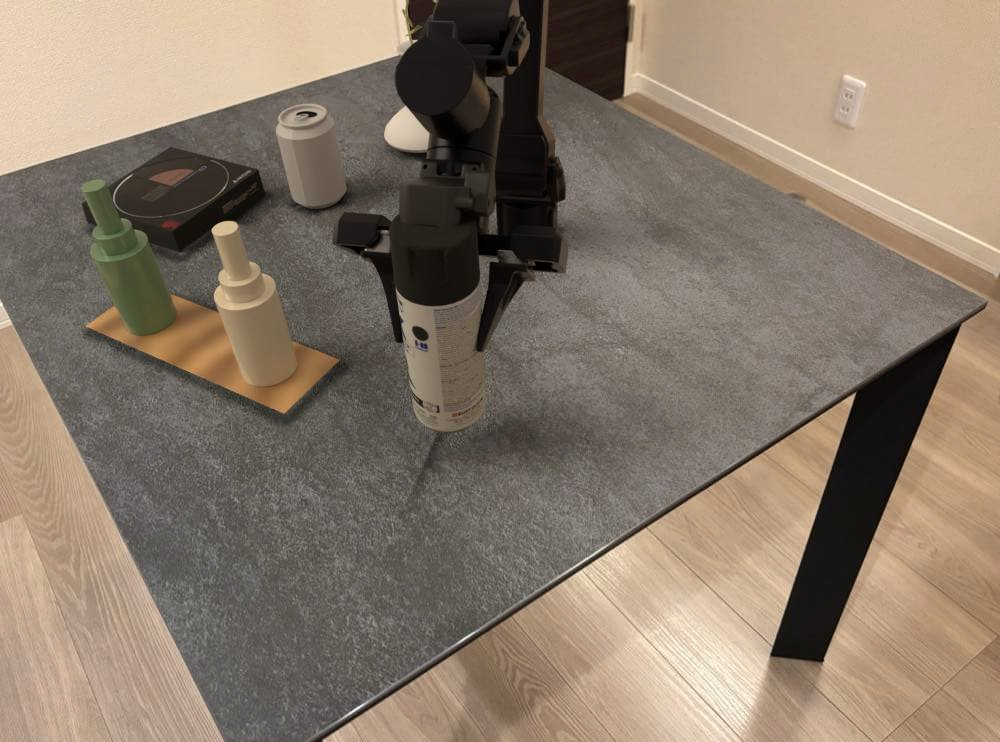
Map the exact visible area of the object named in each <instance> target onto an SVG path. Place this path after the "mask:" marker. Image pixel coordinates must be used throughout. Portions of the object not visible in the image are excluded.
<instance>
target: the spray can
mask: <svg viewBox="0 0 1000 742" xmlns="http://www.w3.org/2000/svg"><path fill="white" fill-rule="evenodd" d="M391 221H392V222H391V224H390V228H389V238H390V246H391V255H392V263H393V272H394V283H395V287H396V294H397V301H398V307H399V315H400V321H401V328H402V334H403V347H404V354H405V361H406V362H405V363H406V367H407V374H408V381H409V386H410V396H411V401H412V407H413V411H414V414H415V416H416V418H417V420H418V422H420V424H422V425H423V427H425V428H426V429H427V430H429V431H433V432H436V433H441V434H453V433H459V432H460V433H461V432H463V431H466V430H467V429H469V428H471V427H472V426H474V425H475V424H476V423H477V422H478V421H480V419H481V418H482V416H483V414H484V411H485V408H486V405H487V404H486V403H487V402H486V401H487V400H486V399H487V398H486V397H487V395H486V375H485V374H486V373H485V357H484V356H485V355H484V352H485V351H484V352H477V340H478V331H479V326H480V321H481V317H482V312H483V309H482V291H481V290H482V289H481V268H480V256H479V253H478V239H477V226H476V220H475V218H474V217H473V216H465V215H464V217H463V219H462V222H461V223H460V224H459V225H458V226H456V227H453V228H438V227H436V226H424V225H412V224H406V223H402V222H401V221H400V219H399V213H398V214H396V215H395V216H394V217H393V218H392V219H391Z"/></svg>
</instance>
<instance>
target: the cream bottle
mask: <svg viewBox="0 0 1000 742" xmlns="http://www.w3.org/2000/svg"><path fill="white" fill-rule="evenodd" d="M211 234H212V237H213V240H214V243H215V246H216V248H217V251H218V255H219V258H220V260H221V263H222V266H223V268H222V269H221V271H220V272H218V273H219V274H218V276H217V277H218V282H219V285H218V286H217V287H216V289H215V291H214V293H213V301H214V303H215V307H216V309H217V312H219V315H220V318H221V320H222V323H223V326H224V329H225V332H226V335H227V337H228V340H229V343H230V346H231V349H232V351H233V354H234V357H235V360H236V363H237V366H238V368H239V371H240V374H241V377H242V378H243V380H244V381H245V382H247V383H248V384H250V385H253V386H259V387H266V386H272V385H276V384H279V383H281V382H283V381H285V380H286V379H288V378H289V377H290V376H291V375H292V374H293V373H294V372H295V370H296V368H297V364H298V361H297V357H296V354H295V350H294V347H293V343H292V341H293V340H292V337H291V336H292V335H291V334H290V328H289V326H288V322H287V319H286V315H285V312H284V308H283V304H282V301H281V298H280V294H279V290H278V287H277V283H276V281H275V280H274V278H273V277H271V276H270V275H268V274H266V273H262V269H261V267H260V266H259V264H257V263H256V262H253V261H250V260H249V257H248V253H247V250H246V246H245V243H244V240H243V237H242V233H241V230H240V226H239V224H238V223H237V222H236V221H234V220H233V221H225V222H221V223H218V224H217V225H215V226H214V227H213V228H212V229H211Z"/></svg>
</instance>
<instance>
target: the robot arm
mask: <svg viewBox="0 0 1000 742" xmlns="http://www.w3.org/2000/svg"><path fill="white" fill-rule="evenodd" d="M549 3H550V0H438V1H437V3H435V6H434V8H433V12H432V14H429V16H428V17H427V20H426V21H425V24H424V26H423V27H422V30H421V32H420V34H419V36H418V38H417V39H416V40H417V41H416V42H415V43H413V44H412V45H411V46H410V47H409V48H408V49H407V50H406V51H405V53H404V54H403V55H402V57H401V56H400V59H399V62H398V63H397V64H396V66H395V70H394V85H395V90H396V94H397V95H398V97H399V99H400V100H401V102H402V103H403V104H404V106H405V105H406V107H407V108H408V109H409V110H410V111H411V113H412V114H413V115H414V116H415V117H416V119H417V120H418V121H419V122H420V123H421V125H422V126H423V127H424V128H425V129H426V130H427V131H428V132H429V141H428V150H427V152H426V158H422V160H421V164H420V168H419V174H418V176H417V177H412V178H409V179H406V180H402V181H399V187H398V188H399V189H398V191H399V194H398V195H399V196H398V197H399V199H398V200H399V201H398V202H399V203H398V207H399V209H398V211H399V212H398V214H399V219H400V221H401V222H402V223H406V224H412V225H424V226H436V227H438V228H453V227H456V226H458V225H459V224H460V223H461V222H462V219H463V217H464V215H465V216H473V217H474V218H475V220H476V226H477V239H478V253H479V257H482V258H495V259H497V261H491V260H490V261H489V264H488V265H489V267H488V284H487V290H486V295H485V299H484V303H483V308H482V317H481V321H480V326H479V331H478V340H477V352H485V350H486V348H487V346H488V344H489V343H490V340H491V339H492V337H493V335H494V333H495V331H496V330H497V327H498V325H499V323H500V321H501V319H502V318H503V317H502V316H503V315H504V313H505V311H506V310H507V308H508V306H509V305H510V303H511V302H512V300H513V299H514V297H515V296H516V294H517V293H518V291H520V288H521V287H522V286H523V284H524V283H525V282H536V279H537V275H536V273H535V272H538V273H539V272H540V273H549V274H566V273H567V265H568V257H569V244H568V242H567V240H566V238H565V237H564V235H563V234H562V233H561V231H560V230H559V229H558V225H559V223H558V219H559V218H558V217H559V216H558V215H559V214H558V211H559V209H558V208H559V205H558V204H559V203H561V202H563V201H565V200H566V198H567V181H566V176H565V170H564V167H563V165H562V162H561V159H560V156H558V155H557V156H556V137H555V136H554V133H553V132H552V129H551V127H550V125H549V123H548V121H547V119H546V118H545V116H544V100H545V99H544V98H545V97H544V96H545V95H544V94H545V79H546V78H545V77H546V60H547V59H546V57H547V41H548V40H547V38H548V22H549V21H548V20H549ZM487 78H503V86H502V87H503V88H502V91H503V92H502V99H501V98H500V96H499V95H498V93H497V92H496V91H495V89H493V88H492V87H491V86H489V85H488V84H487ZM495 211H496V212H495ZM494 213H495V214H496V231H497V234H495V233H494V234H493V233H490V228H489V224H490V216H491V215H493V214H494ZM391 222H392V219H389V218H388V217H387V216H385V215H384V214H380V213H379V214H377V213H364V212H350V211H343V212H342V213H341V215H340V216H339V217H338V218H337V220H336V221H335V223H334V225H333V234H332V241H331V242H332V243H331V244H332V245H333V246H336V247H338V248H340V249H341V250H344V251H345V252H348V253H350V254H352V255H355V256H359V257H360V258H361V259H362V260H364V261H367V262H368V263H371V264H372V265H373V266H374V268H375V270H376V272H377V274H378V276H379V279H380V282H381V284H382V288H383V291H384V294H385V300H386V303H387V308H388V312H389V317H390V323H391V327H392V331H393V336H394V341H395V343H397V344H404V342H403V334H402V328H401V321H400V315H399V307H398V301H397V294H396V287H395V283H394V272H393V263H392V255H391V246H390V238H389V228H390V224H391Z"/></svg>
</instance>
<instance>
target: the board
mask: <svg viewBox="0 0 1000 742" xmlns="http://www.w3.org/2000/svg"><path fill="white" fill-rule="evenodd" d="M170 295H171V297H172V300H173V302H174V305H175V307H176V310H177V317H176V319H175V321H174V322H173V323H172V324H171V325H170V326H169V327H167V328H166V329H164V330H162V331H160V332H158V333H155V334H151V335H144V336H139V335H133V334H130V333H129V332H127V331H126V330H125V328H124V326H123V324H122V321H121V319H120V317H119V315H118V313H117V311H116V309H115V306H114V305H112V306H111V307H109V309H107V310H106V311H105V312H103V313H101V314H100V315H99V316H97V317H95V319H93V320H92V321H90V322H89V323H87V324H86V326H85V327H87V328H88V329H91V330H93V331H95V332H98V333H99V334H102V335H105V336H106V337H109V338H111V339H113V340H116V341H118V342H121V343H122V344H124V345H127V346H128V347H131V348H134V349H135V350H138V351H141V352H143V353H145V354H147V355H150V356H151V357H154V358H157V359H159V360H161V361H163V362H166V363H168V364H170V365H173V366H175V367H177V368H179V369H181V370H183V371H184V370H185V371H187V372H189V373H191V374H193V375H195V376H197V377H199V378H202V379H205V380H206V381H209V382H211V383H213V384H216V385H218V386H221V387H222V388H224V389H227V390H229V391H231V392H234V393H236V394H238V395H240V396H243V397H246V398H248V399H250V400H252V401H254V402H257V403H260V404H261V405H263V406H265V407H268V408H270V409H272V410H275V411H277V412H278V413H279V412H280V413H281V414H283V415H285V414H286V413H287V412H288V411H289V410H290V409H291V408H293V406H294V405H296V403H298V402H299V401H300V400H301V399H302V398H303V397H304V396H305V395H306V394H307V393H308V392H309V391H310V390H311V389H312V388H313V387H315V385H316V384H318V382H319V381H320V380H321V379H322V378H323V377H324V376H326V374H328V372H329V371H330V370H332V368H334V367H335V365H337V364H338V362H340V361H341V359H340V358H337V357H334V356H332V355H329V354H326V353H325V352H321V351H319V350H317V349H314V348H311V347H308V346H306V345H304V344H301V343H298V342H296V341H293V340H292V343H293V347H294V350H295V354H296V357H297V361H298V364H297V368H296V370H295V372H294V373H293V374H292V375H291V376H290V377H289V378H288V379H286V380H285V381H283V382H281V383H279V384H276V385H272V386H266V387H259V386H253V385H250V384H248V383H247V382H245V381H244V380H243V378H242V377H241V374H240V371H239V368H238V366H237V363H236V360H235V357H234V354H233V351H232V349H231V346H230V343H229V340H228V337H227V335H226V332H225V329H224V326H223V323H222V320H221V318H220V315H219V312H218V311H216V310H214V309H212V308H208V307H206V306H203V305H200V304H198V303H196V302H193V301H190V300H188V299H185V298H182V297H180V296H177V295H175V294H172V293H170Z"/></svg>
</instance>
